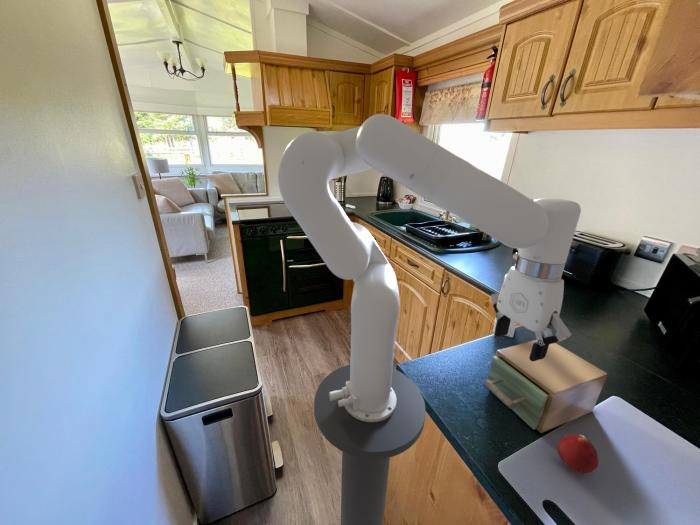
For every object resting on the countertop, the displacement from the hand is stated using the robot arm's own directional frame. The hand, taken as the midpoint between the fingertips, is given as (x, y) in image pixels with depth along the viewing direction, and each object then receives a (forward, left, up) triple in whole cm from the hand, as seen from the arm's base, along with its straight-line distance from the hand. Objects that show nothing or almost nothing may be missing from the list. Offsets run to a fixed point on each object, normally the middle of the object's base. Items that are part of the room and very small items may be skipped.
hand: (517, 346), depth 59 cm
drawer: (+8, 0, -17) cm, 19 cm away
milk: (+28, +25, -18) cm, 42 cm away
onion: (+3, -14, -18) cm, 23 cm away
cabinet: (+12, 0, -18) cm, 22 cm away
